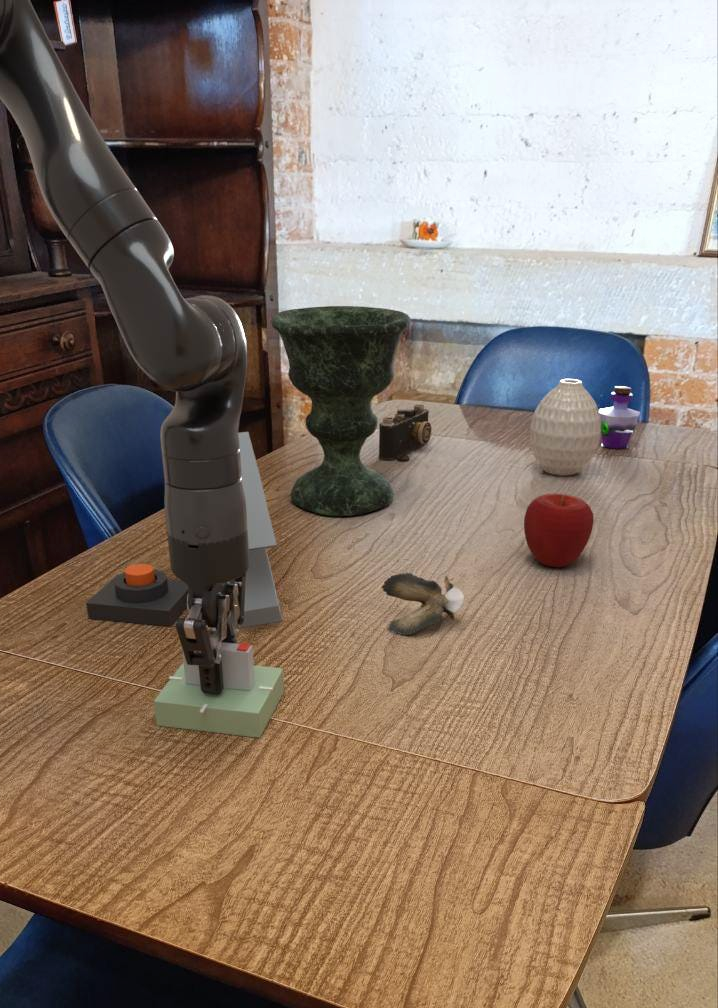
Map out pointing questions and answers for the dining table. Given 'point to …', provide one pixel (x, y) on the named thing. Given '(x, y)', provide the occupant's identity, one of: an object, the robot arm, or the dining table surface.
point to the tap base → (220, 705)
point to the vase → (565, 429)
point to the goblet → (341, 398)
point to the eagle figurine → (422, 601)
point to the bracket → (257, 544)
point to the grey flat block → (229, 667)
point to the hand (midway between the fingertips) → (220, 680)
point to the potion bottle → (618, 420)
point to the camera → (404, 433)
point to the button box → (140, 601)
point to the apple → (557, 528)
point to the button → (139, 575)
